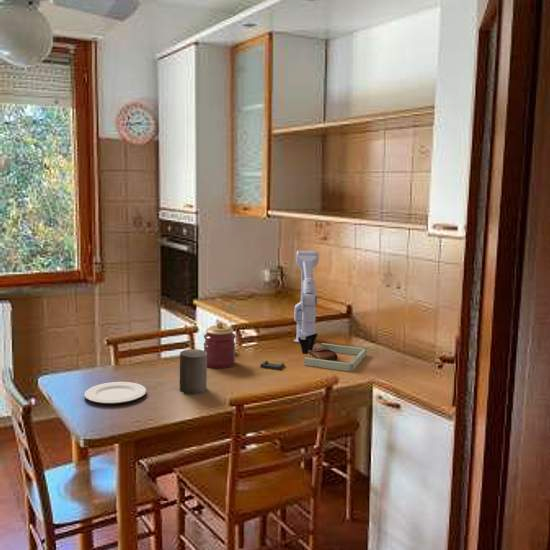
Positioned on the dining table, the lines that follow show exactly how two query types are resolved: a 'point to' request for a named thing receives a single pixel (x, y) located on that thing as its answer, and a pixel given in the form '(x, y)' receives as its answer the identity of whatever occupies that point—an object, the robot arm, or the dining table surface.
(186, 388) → the pillar candle
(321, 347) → the sunglasses case
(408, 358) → the dining table surface
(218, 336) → the canister
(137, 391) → the plate
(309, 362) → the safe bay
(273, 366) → the front trap pocket
